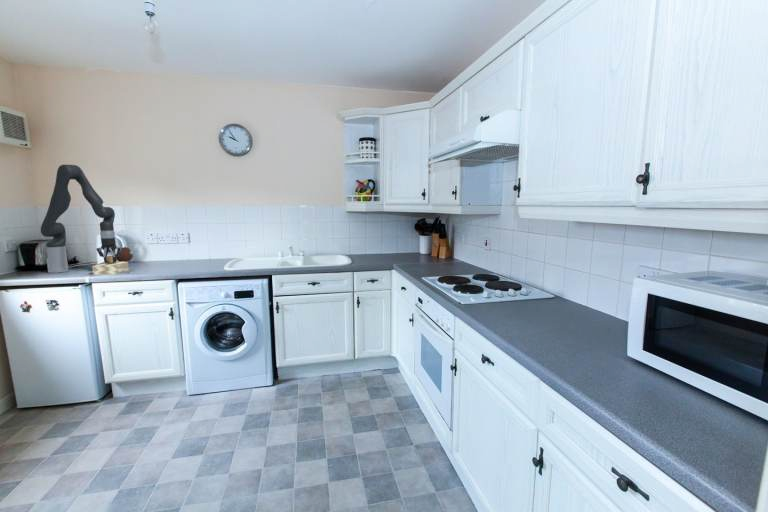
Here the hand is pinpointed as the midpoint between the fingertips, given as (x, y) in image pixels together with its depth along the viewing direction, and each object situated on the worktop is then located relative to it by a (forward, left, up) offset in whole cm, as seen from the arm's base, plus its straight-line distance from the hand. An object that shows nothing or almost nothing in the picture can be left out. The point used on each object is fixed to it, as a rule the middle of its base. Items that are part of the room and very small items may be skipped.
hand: (110, 262), depth 232 cm
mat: (0, 0, -7) cm, 7 cm away
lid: (0, 0, -7) cm, 7 cm away
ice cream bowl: (+1, +19, -7) cm, 20 cm away
